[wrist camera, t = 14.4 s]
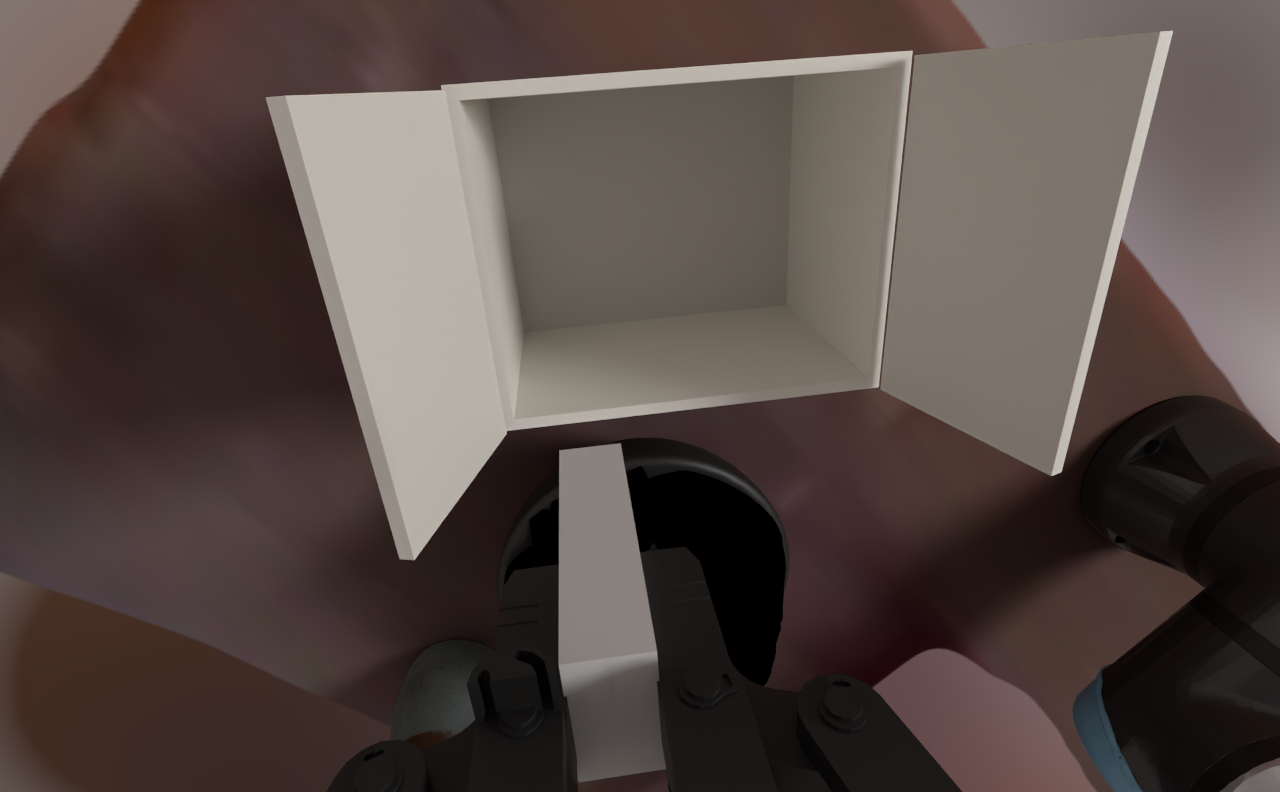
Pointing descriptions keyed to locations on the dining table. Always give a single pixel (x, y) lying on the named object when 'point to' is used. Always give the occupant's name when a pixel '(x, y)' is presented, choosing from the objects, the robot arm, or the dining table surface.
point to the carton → (683, 232)
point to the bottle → (437, 694)
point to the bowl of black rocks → (686, 538)
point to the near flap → (398, 291)
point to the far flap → (1014, 231)
